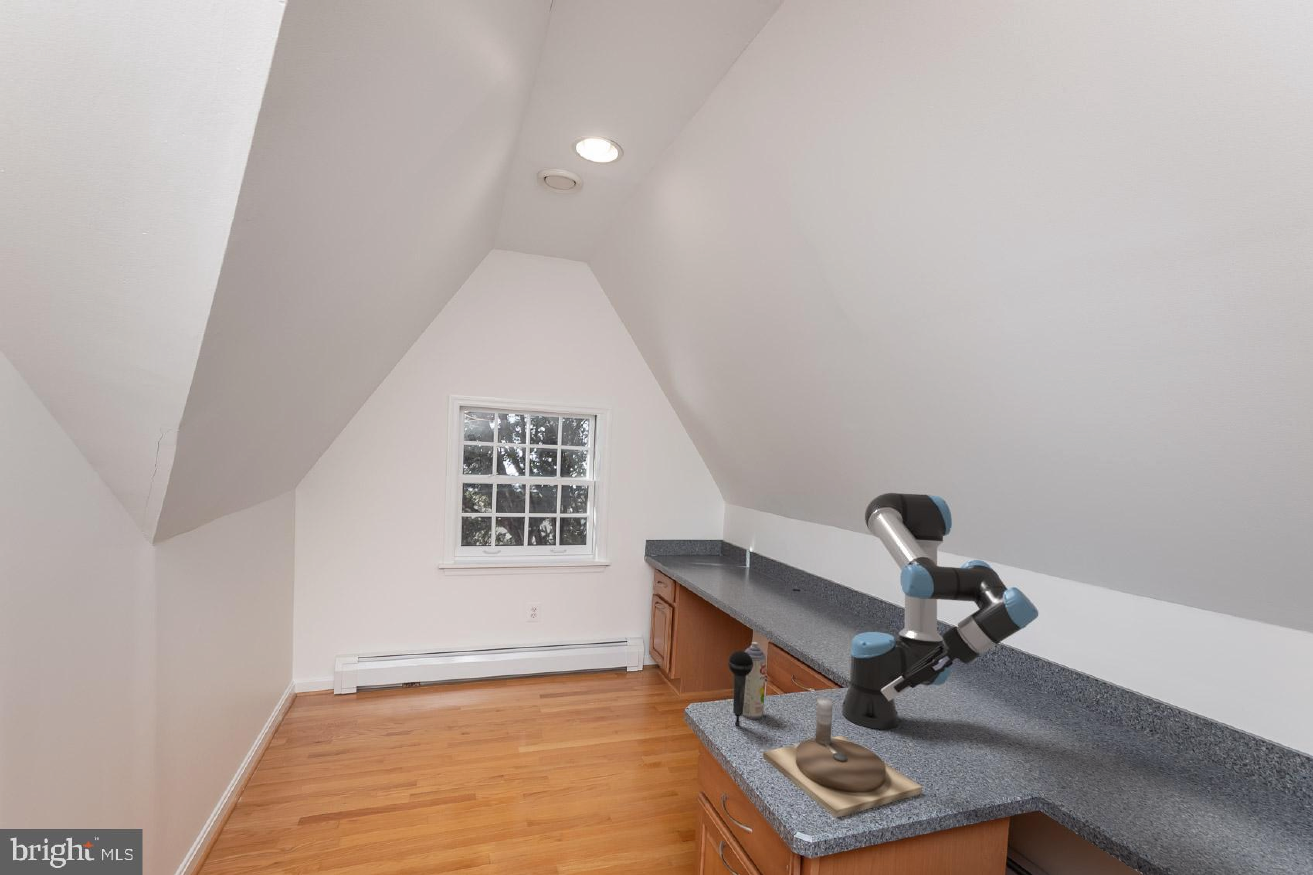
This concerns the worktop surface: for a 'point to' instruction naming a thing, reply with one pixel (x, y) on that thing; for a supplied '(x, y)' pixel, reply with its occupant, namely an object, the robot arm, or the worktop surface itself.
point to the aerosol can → (755, 684)
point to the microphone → (739, 679)
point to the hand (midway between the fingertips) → (885, 695)
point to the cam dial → (838, 758)
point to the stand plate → (839, 799)
